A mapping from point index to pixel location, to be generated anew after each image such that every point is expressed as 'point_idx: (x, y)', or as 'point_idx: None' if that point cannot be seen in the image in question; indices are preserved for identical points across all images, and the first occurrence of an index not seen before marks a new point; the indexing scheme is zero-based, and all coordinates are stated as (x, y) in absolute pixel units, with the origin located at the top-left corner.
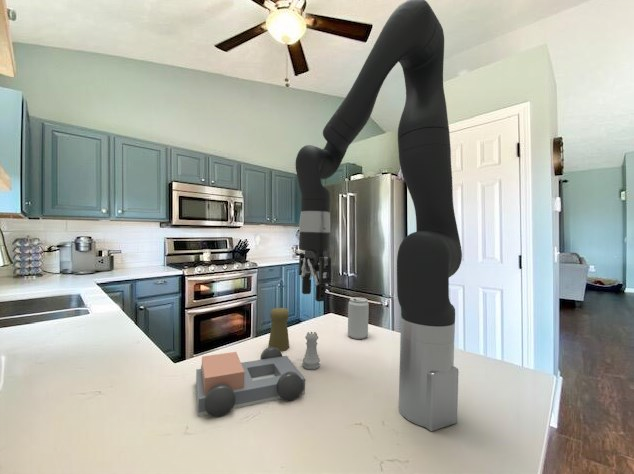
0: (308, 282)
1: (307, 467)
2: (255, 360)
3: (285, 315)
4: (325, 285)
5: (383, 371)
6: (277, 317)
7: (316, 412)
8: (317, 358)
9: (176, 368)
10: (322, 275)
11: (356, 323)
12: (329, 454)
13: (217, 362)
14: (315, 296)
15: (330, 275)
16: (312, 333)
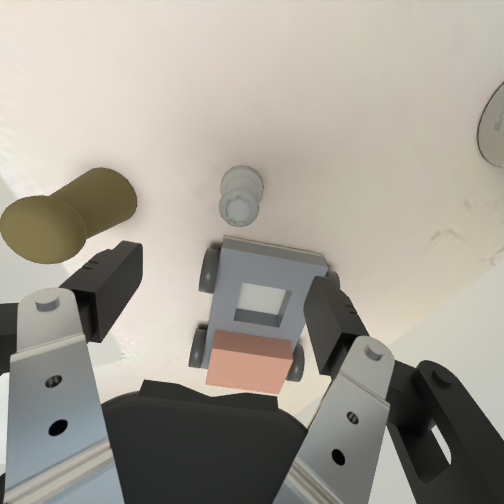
0: (108, 295)
1: (425, 316)
2: (212, 301)
3: (74, 227)
4: (358, 332)
5: (382, 28)
6: (79, 250)
7: (371, 266)
8: (256, 184)
9: (144, 359)
10: (446, 467)
11: None
12: (433, 294)
13: (239, 375)
14: (308, 323)
15: (489, 428)
16: (226, 200)
